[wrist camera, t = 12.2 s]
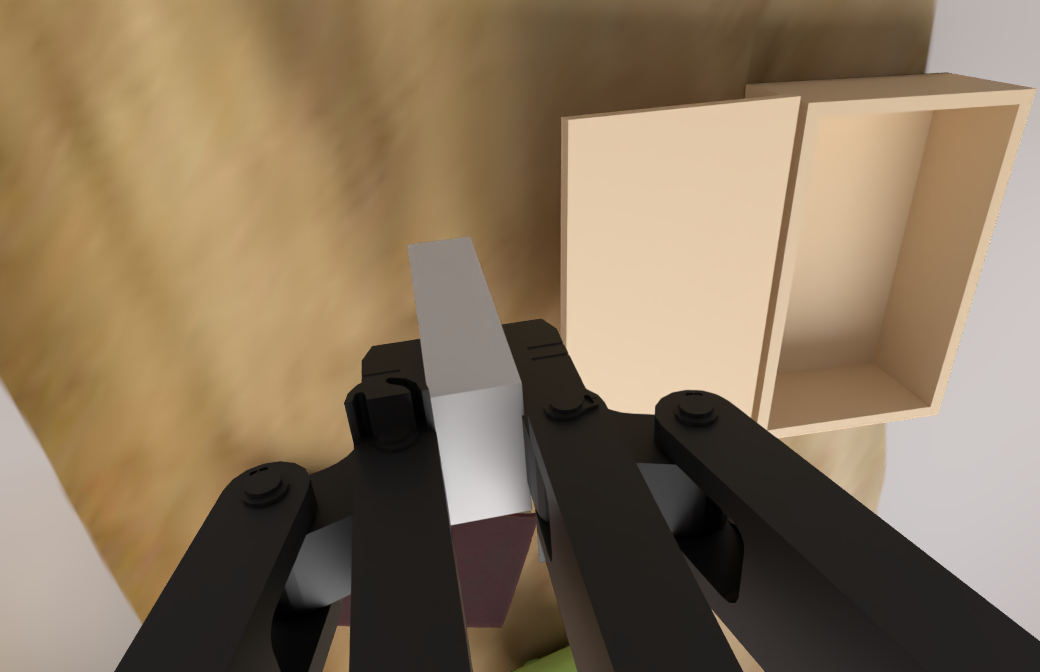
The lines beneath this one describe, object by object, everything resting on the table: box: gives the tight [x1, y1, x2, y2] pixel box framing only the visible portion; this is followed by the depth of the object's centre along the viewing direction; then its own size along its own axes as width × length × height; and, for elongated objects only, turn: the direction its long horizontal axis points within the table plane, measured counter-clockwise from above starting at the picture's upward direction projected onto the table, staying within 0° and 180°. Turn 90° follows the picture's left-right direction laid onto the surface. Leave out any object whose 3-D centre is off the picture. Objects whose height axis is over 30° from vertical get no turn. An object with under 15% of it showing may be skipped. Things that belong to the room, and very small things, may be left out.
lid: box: [560, 94, 801, 418], centre depth 41 cm, size 23×13×1 cm, turn 1°
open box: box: [744, 73, 1036, 438], centre depth 47 cm, size 22×14×7 cm, turn 1°
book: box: [337, 510, 536, 628], centre depth 54 cm, size 12×19×3 cm, turn 76°
